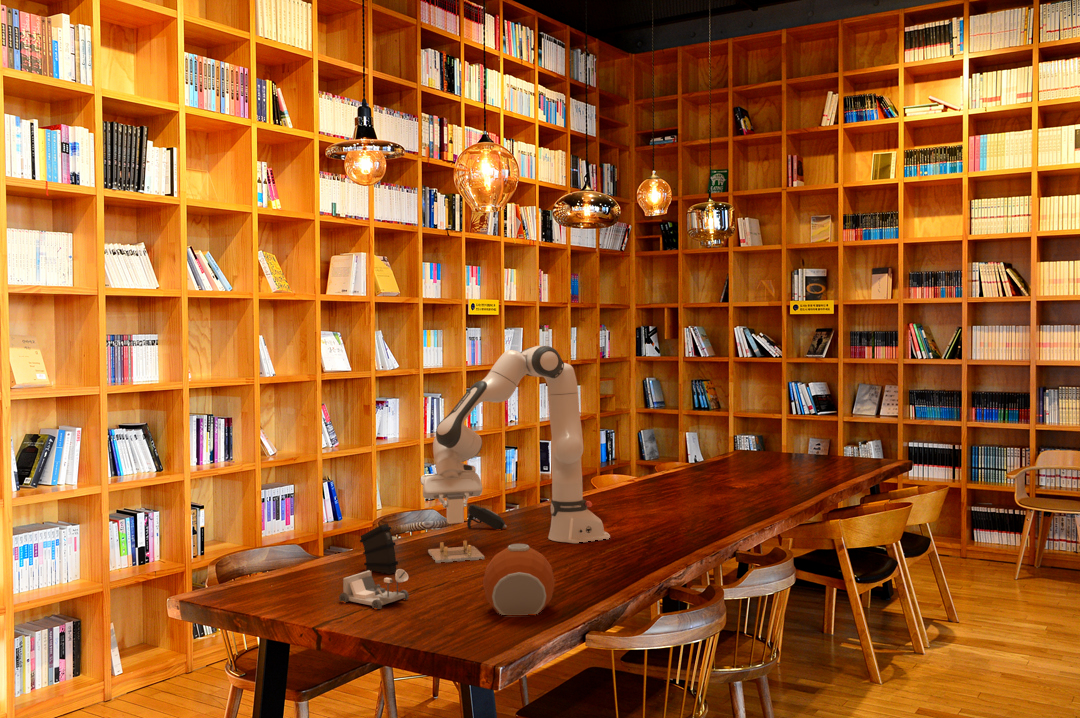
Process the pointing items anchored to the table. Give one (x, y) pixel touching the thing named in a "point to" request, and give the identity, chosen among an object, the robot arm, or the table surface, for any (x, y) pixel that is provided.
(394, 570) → the black ribbed panel
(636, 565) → the table surface
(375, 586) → the toy lunar rover
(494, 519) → the gun
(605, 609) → the table surface
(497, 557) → the alarm clock
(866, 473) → the table surface
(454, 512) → the block
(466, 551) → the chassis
